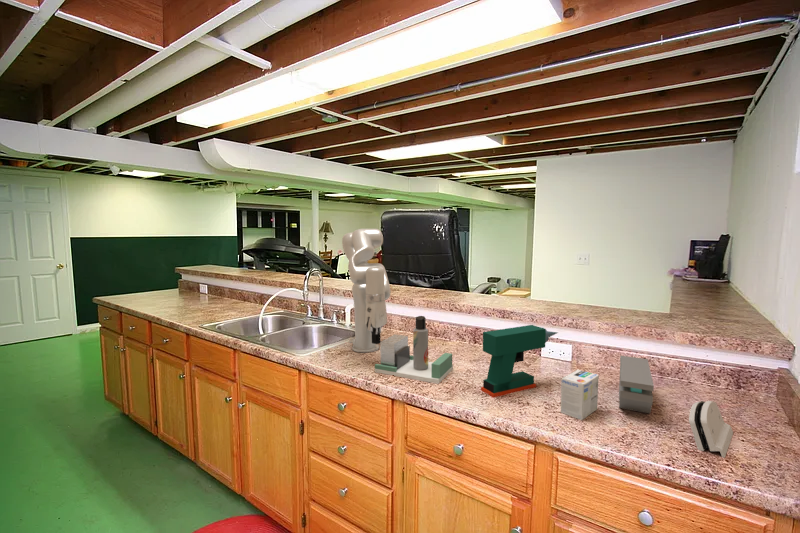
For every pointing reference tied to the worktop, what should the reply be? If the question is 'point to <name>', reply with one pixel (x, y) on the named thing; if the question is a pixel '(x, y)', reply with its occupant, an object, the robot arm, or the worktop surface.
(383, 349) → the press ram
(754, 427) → the worktop surface
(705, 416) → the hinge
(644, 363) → the gray lidded box
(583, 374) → the light bulb box
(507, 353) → the power tool
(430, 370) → the frame
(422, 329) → the lotion bottle
